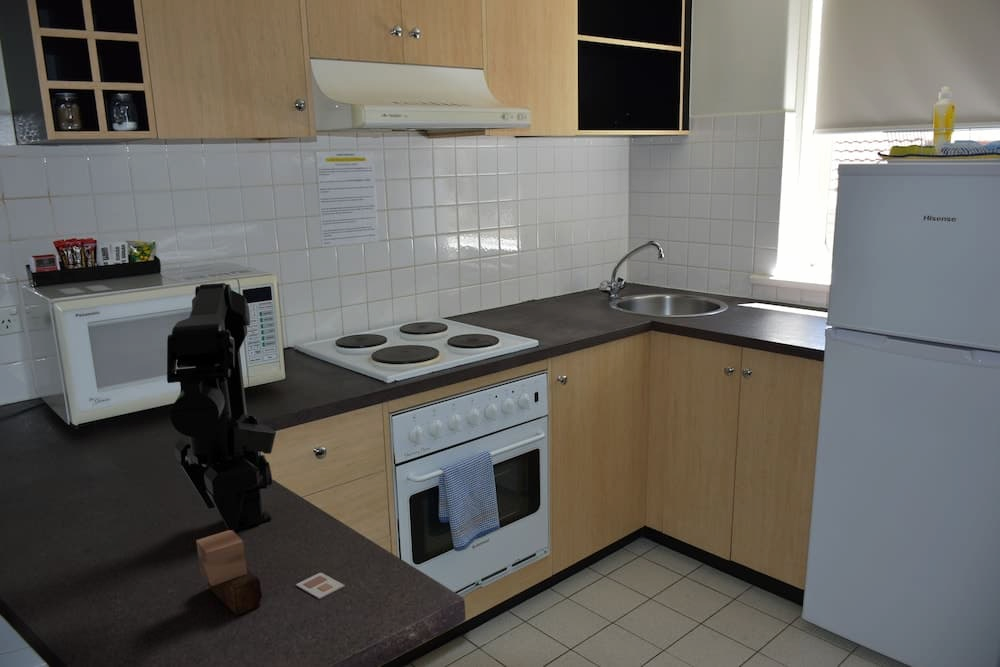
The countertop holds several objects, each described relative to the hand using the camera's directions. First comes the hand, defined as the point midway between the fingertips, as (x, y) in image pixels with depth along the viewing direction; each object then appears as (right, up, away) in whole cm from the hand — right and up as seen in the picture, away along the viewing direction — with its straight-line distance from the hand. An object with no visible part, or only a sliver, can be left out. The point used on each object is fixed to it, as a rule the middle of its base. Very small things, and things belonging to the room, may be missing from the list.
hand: (222, 518), depth 109 cm
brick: (+1, -12, +2) cm, 13 cm away
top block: (0, -8, 0) cm, 8 cm away
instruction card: (+13, -11, +4) cm, 18 cm away
